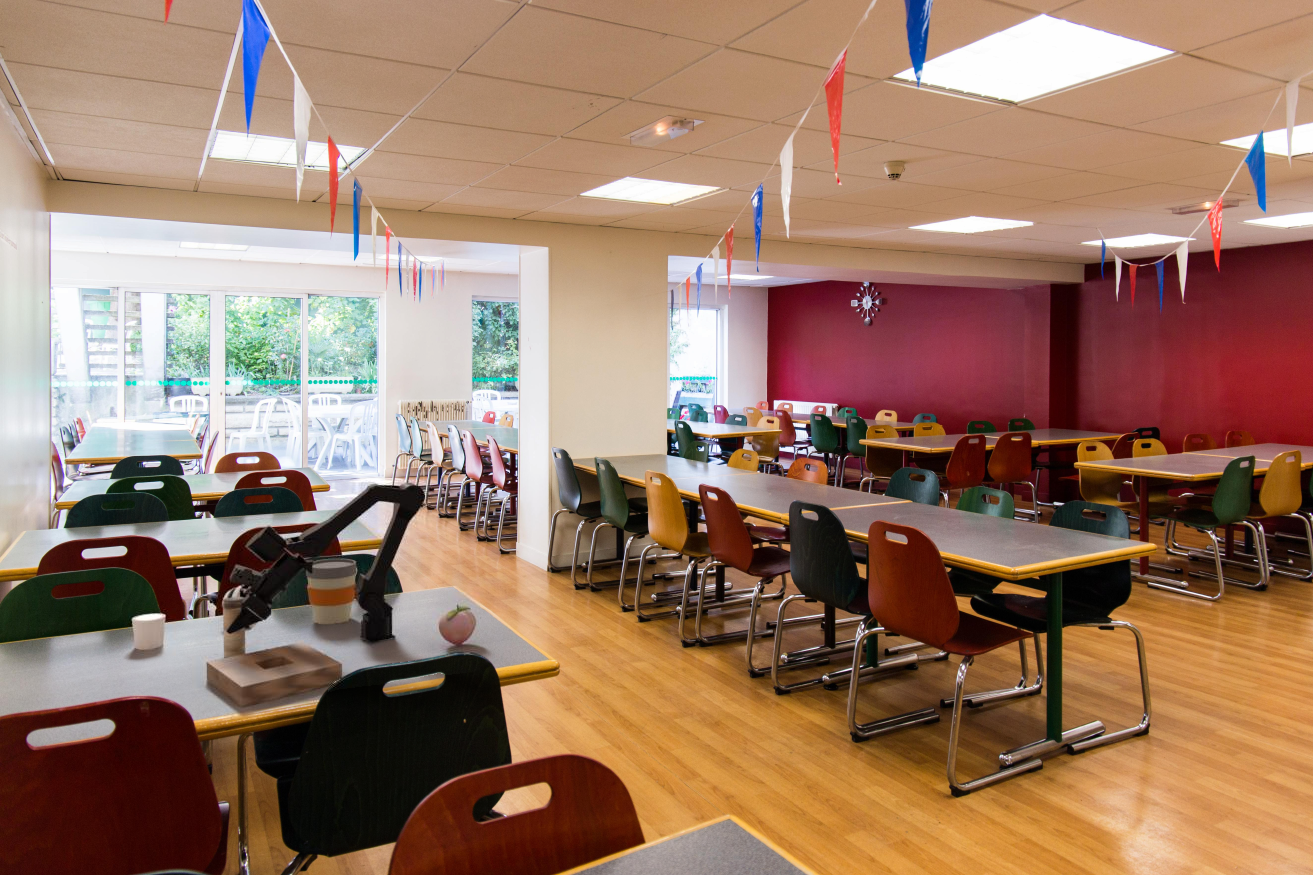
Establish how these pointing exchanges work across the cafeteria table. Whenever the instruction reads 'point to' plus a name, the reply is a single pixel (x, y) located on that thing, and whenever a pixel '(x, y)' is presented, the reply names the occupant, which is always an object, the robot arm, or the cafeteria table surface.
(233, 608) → the beech pin
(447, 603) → the cafeteria table surface
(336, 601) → the reusable coffee cup
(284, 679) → the socket block
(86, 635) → the cafeteria table surface
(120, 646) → the cafeteria table surface
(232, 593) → the hinge
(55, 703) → the cafeteria table surface
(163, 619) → the white short cylinder
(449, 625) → the decorative fruit
